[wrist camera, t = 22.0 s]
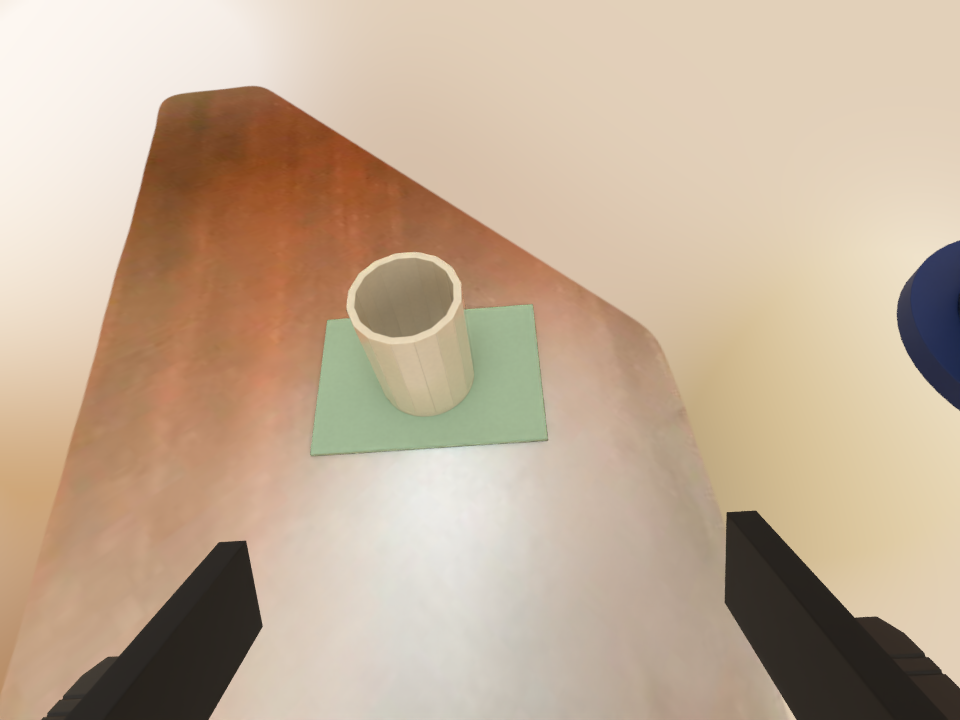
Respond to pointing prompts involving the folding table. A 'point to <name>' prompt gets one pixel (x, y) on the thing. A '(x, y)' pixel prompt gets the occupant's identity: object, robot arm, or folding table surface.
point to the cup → (414, 331)
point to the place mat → (475, 421)
